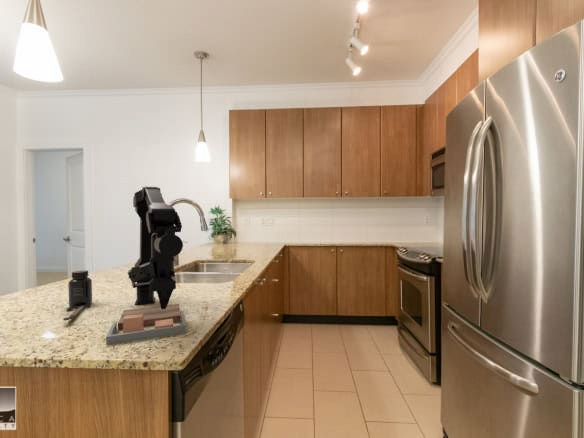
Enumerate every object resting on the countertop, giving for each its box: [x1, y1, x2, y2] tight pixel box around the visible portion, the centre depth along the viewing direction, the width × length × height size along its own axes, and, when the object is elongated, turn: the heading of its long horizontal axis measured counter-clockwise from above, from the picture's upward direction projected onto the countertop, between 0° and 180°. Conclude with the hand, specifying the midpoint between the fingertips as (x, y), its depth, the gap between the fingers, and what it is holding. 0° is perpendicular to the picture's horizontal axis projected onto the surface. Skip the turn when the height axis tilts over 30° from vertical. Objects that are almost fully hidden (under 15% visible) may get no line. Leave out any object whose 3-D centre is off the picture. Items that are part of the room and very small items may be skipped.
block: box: [154, 319, 174, 329], centre depth 79 cm, size 4×4×2 cm
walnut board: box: [117, 303, 181, 331], centre depth 89 cm, size 12×16×2 cm
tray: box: [105, 313, 187, 346], centre depth 78 cm, size 10×18×3 cm, turn 113°
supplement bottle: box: [67, 269, 93, 307], centre depth 105 cm, size 7×7×12 cm
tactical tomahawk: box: [62, 303, 92, 321], centre depth 92 cm, size 21×7×1 cm, turn 22°
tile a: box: [122, 314, 145, 333], centre depth 78 cm, size 4×4×2 cm
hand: (163, 308), depth 81 cm, fingers closed
